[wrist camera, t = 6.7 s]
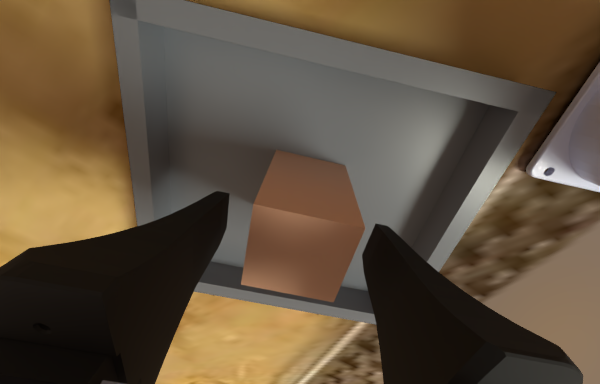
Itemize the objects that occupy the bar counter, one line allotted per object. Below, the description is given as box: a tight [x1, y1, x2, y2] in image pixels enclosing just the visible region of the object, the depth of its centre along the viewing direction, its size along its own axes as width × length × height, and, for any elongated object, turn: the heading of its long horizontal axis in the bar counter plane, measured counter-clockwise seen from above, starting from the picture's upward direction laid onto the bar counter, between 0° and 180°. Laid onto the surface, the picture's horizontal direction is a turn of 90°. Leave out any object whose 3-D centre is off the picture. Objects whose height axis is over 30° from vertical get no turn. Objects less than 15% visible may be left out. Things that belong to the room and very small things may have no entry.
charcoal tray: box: [109, 0, 556, 324], centre depth 14 cm, size 18×16×2 cm
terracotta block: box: [241, 150, 365, 302], centre depth 12 cm, size 4×4×6 cm
